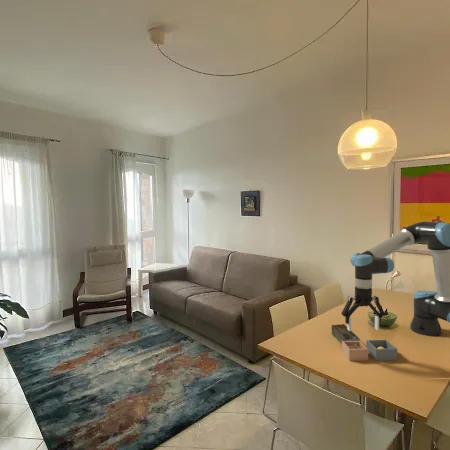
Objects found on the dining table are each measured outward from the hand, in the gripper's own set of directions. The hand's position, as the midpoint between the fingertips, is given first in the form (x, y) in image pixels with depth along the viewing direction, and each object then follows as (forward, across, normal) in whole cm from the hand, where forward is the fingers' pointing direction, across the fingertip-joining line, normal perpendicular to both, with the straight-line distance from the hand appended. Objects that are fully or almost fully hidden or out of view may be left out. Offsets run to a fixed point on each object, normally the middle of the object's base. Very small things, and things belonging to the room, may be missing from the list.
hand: (362, 329), depth 147 cm
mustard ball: (+13, -9, 0) cm, 16 cm away
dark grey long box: (+14, +2, -17) cm, 22 cm away
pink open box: (+14, +4, 0) cm, 14 cm away
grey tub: (+14, -9, 0) cm, 16 cm away
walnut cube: (+13, +4, 0) cm, 14 cm away
